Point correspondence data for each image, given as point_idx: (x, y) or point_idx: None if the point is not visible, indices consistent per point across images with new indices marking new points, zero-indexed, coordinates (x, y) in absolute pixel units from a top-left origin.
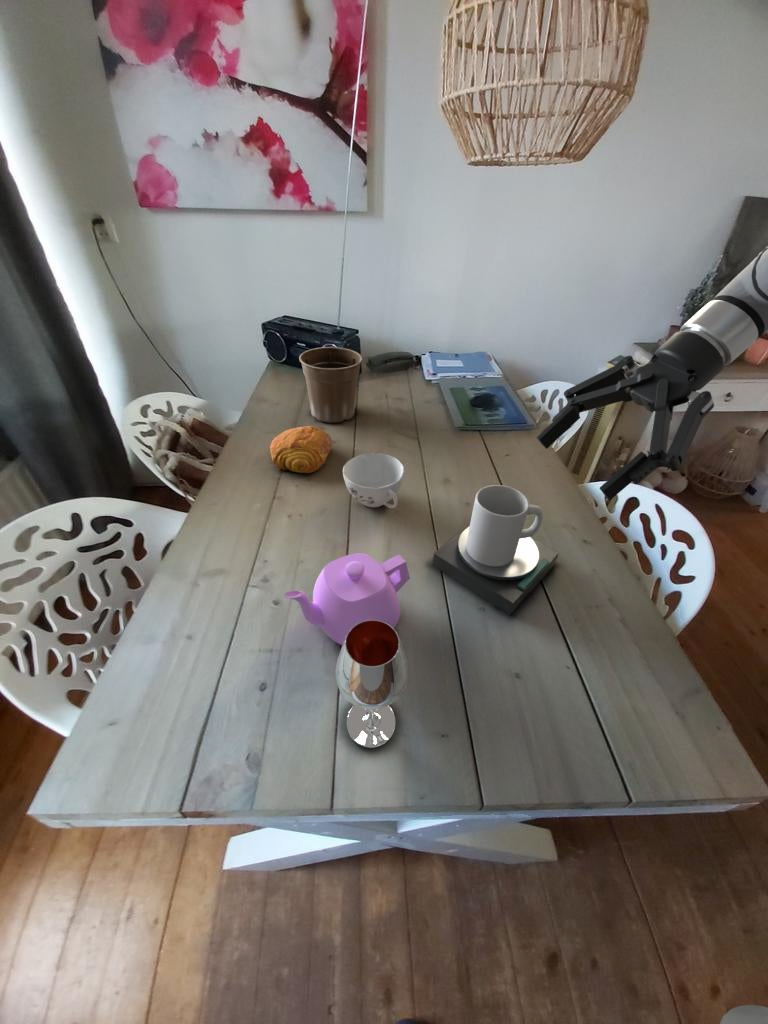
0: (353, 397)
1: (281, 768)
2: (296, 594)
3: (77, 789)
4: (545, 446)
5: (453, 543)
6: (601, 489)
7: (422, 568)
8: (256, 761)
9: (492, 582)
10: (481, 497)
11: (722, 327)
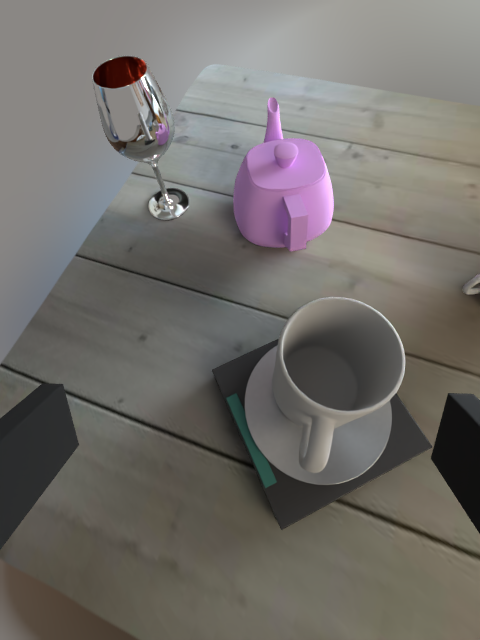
0: None
1: (168, 151)
2: (273, 110)
3: (210, 72)
4: (436, 446)
5: None
6: (52, 385)
7: None
8: (180, 140)
9: (257, 362)
10: (382, 339)
11: None
